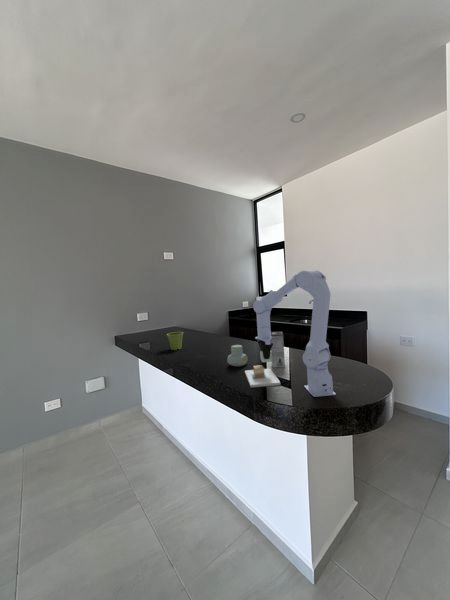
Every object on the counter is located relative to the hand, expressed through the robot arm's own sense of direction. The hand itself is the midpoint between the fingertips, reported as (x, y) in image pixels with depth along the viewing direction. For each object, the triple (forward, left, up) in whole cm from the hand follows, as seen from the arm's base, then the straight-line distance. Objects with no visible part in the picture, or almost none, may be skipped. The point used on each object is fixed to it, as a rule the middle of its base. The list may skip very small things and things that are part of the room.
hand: (265, 357), depth 110 cm
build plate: (-2, +3, -8) cm, 9 cm away
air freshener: (+20, +11, -9) cm, 25 cm away
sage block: (0, 0, -2) cm, 2 cm away
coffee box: (+15, -9, -9) cm, 20 cm away
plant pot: (+69, +50, -9) cm, 86 cm away
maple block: (-2, +4, -7) cm, 8 cm away
